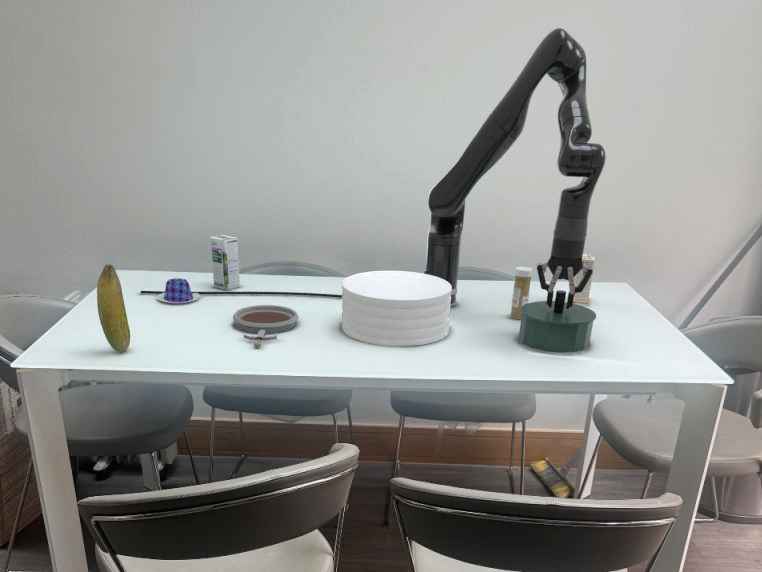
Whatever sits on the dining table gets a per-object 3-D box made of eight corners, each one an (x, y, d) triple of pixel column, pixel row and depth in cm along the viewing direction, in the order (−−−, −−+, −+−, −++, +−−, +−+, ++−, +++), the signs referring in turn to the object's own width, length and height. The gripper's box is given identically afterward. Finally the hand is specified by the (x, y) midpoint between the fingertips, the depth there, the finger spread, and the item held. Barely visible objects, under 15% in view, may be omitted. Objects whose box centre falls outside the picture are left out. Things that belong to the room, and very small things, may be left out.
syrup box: (213, 287, 228) (209, 236, 220) (227, 283, 232) (223, 233, 225) (227, 290, 225) (223, 239, 218) (241, 286, 229) (237, 236, 222)
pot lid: (518, 323, 185) (521, 298, 182) (522, 302, 201) (525, 279, 197) (596, 330, 182) (601, 305, 179) (594, 308, 198) (598, 285, 194)
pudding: (207, 295, 221) (205, 276, 218) (190, 306, 211) (188, 287, 208) (167, 291, 222) (165, 273, 219) (149, 303, 212) (147, 284, 209)
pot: (516, 350, 189) (520, 320, 185) (520, 328, 204) (524, 300, 200) (589, 357, 186) (594, 327, 182) (587, 335, 201) (592, 307, 197)
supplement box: (587, 305, 224) (595, 260, 217) (571, 304, 225) (578, 258, 218) (587, 298, 231) (594, 253, 224) (571, 296, 232) (578, 252, 225)
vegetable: (124, 357, 176) (111, 269, 165) (99, 355, 177) (84, 267, 166) (136, 348, 181) (124, 262, 170) (111, 346, 182) (98, 260, 171)
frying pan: (220, 338, 182) (237, 302, 206) (221, 350, 184) (238, 313, 207) (292, 340, 183) (300, 304, 206) (292, 352, 184) (301, 314, 208)
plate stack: (324, 335, 193) (323, 290, 187) (366, 307, 216) (367, 265, 210) (428, 352, 185) (431, 306, 179) (461, 321, 207) (465, 278, 201)
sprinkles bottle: (527, 320, 210) (534, 270, 203) (511, 319, 210) (517, 270, 203) (524, 315, 214) (530, 266, 207) (508, 314, 214) (514, 265, 207)
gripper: (599, 234, 183) (587, 305, 192) (540, 230, 185) (530, 300, 194) (600, 241, 177) (588, 314, 186) (539, 236, 179) (529, 309, 188)
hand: (558, 307), depth 190 cm, fingers open, 3 cm apart
